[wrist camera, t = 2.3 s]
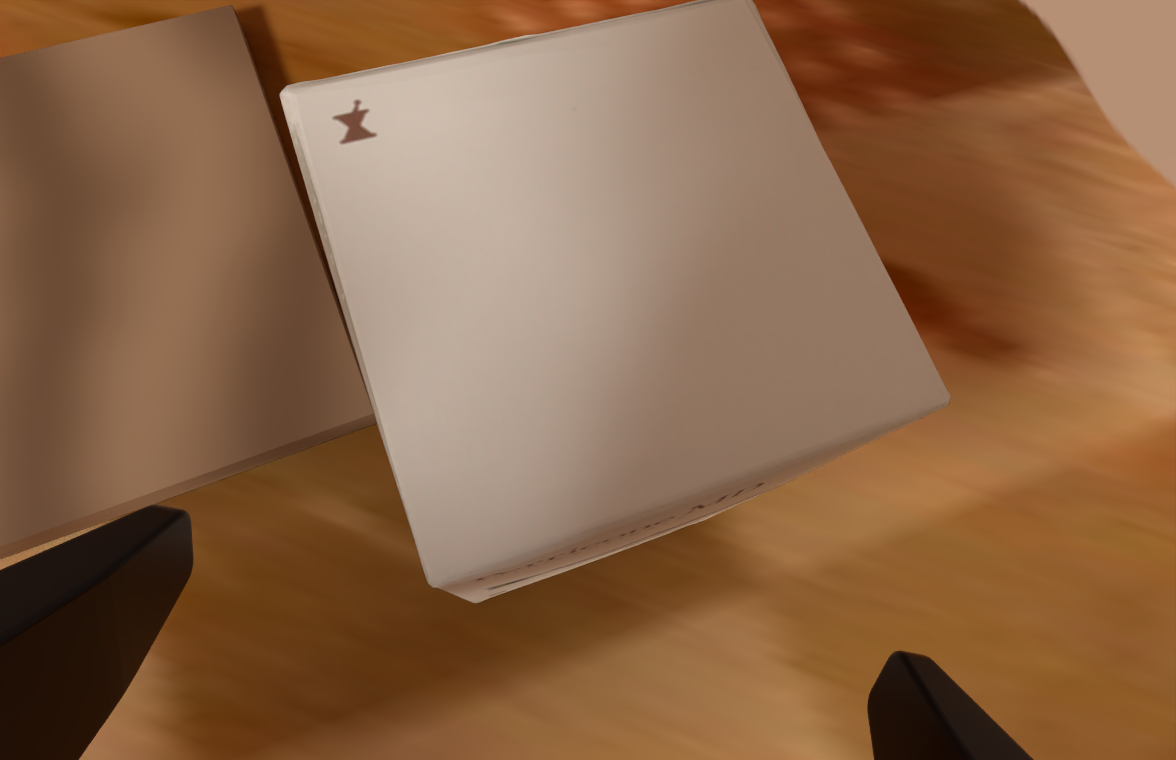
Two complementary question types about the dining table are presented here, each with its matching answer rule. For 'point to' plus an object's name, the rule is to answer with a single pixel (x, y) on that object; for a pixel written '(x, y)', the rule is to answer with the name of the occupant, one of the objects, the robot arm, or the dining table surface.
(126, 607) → the robot arm
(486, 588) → the supplement box
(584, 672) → the dining table surface
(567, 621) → the dining table surface
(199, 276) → the walnut board
